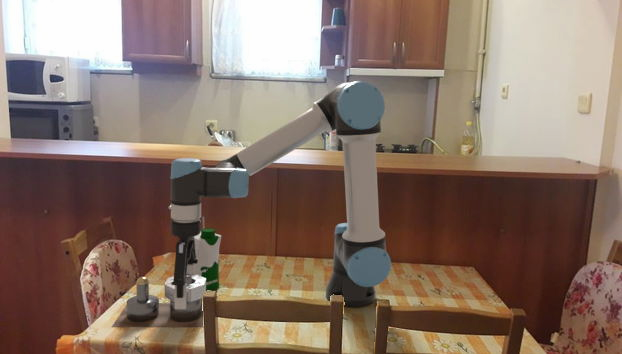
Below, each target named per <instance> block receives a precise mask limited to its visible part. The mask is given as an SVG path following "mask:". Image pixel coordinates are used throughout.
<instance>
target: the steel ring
mask: <svg viewBox="0 0 622 354" xmlns="http://www.w3.org/2000/svg"><path fill="white" fill-rule="evenodd" d="M191 275H192V284H190V285H186V302H192V301H195V300H198V299H201V300H202V299H203V298H204V297H203V294H204V292H205V291H206V278H204V277H201V276H199V275H196V274H191ZM173 280H174V275H173V276H170V277H168V278H166V281H165V283H164V298H166V299H168V300H169V301H170V300H171V301H173V302H175V285H172V284H171V282H173ZM202 297H203V298H202Z"/></svg>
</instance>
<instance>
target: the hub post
mask: <svg viewBox="0 0 622 354" xmlns="http://www.w3.org/2000/svg"><path fill="white" fill-rule="evenodd" d="M149 283H150V281H149V279H148V278H147V277H146V276H141V277H138V278H137V280H136V284H135V285H136V295H134V296H132V297H130V298H128V299H127V300H126V305H127V319H128V320H130V321H132V322H147V321H150V320H153V319H155V318H157V317H158V315H159V303H160V299H159V297H158V296H156V295H153V294H150V284H149Z"/></svg>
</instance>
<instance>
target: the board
mask: <svg viewBox="0 0 622 354" xmlns="http://www.w3.org/2000/svg"><path fill="white" fill-rule="evenodd" d="M111 328H204V327H203V311H202V302H201V316H200V318H198V319H197V320H194V321H191V322H176V321H173V320H172V319H171V318H170V302H169V303H168V302H166V303H165V302H159V315H158V317H157V318H155V319H153V320H150V321H147V322H132V321H130V320H128V319H127V304H126V305H125V306H124V308H123V309H122V311H121V312H120V313H119V315H118V317H117V319H115V321H114V322H113V324H112V326H111Z"/></svg>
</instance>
